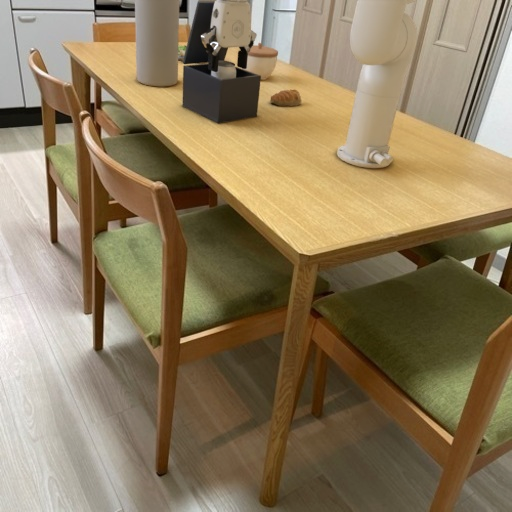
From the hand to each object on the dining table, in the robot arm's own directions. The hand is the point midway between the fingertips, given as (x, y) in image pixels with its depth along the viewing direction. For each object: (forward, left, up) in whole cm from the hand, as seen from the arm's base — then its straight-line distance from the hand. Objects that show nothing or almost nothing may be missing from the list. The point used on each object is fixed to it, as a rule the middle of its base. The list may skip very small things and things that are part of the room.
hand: (227, 69), depth 134 cm
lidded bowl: (+38, -25, -12) cm, 47 cm away
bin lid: (+6, +2, +7) cm, 10 cm away
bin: (+2, +1, -12) cm, 12 cm away
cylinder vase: (+32, +11, -12) cm, 36 cm away
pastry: (+8, -22, -12) cm, 26 cm away
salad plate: (+66, -10, -12) cm, 68 cm away
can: (+1, +1, -11) cm, 11 cm away
